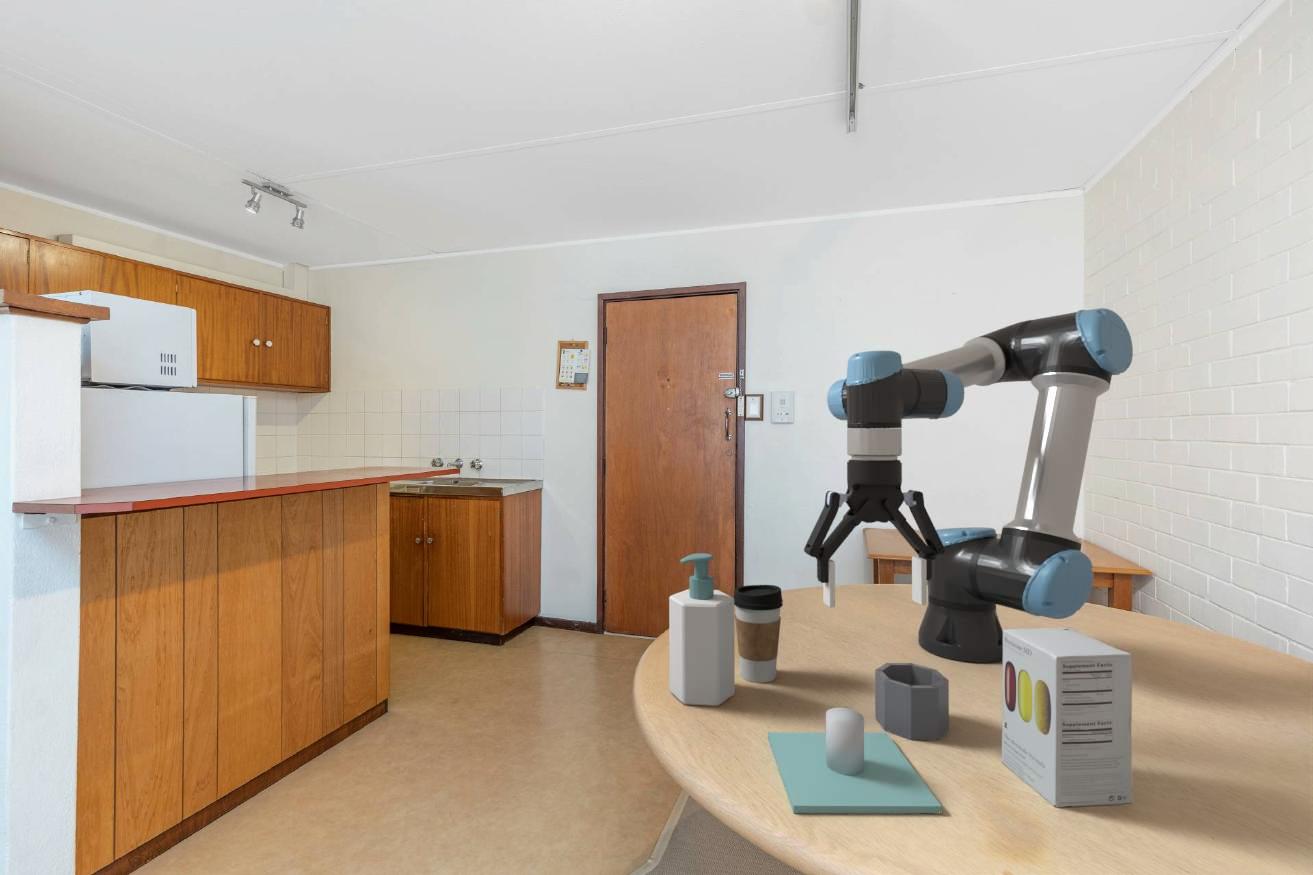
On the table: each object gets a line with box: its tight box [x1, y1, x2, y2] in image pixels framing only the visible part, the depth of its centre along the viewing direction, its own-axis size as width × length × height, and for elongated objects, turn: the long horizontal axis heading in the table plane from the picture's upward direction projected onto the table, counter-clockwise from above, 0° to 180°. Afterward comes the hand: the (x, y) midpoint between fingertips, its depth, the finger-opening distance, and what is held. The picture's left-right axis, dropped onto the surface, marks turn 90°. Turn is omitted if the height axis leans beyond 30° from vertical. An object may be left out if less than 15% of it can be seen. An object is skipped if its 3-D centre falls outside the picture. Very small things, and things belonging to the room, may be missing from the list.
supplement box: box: [1001, 627, 1133, 808], centre depth 70 cm, size 10×9×17 cm
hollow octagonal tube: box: [874, 662, 950, 741], centre depth 84 cm, size 9×9×7 cm
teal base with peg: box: [767, 707, 943, 815], centre depth 72 cm, size 16×16×7 cm
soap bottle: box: [668, 552, 736, 707], centre depth 95 cm, size 10×9×22 cm
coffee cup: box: [732, 584, 784, 684], centre depth 101 cm, size 8×8×15 cm
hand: (874, 603), depth 87 cm, fingers open, 13 cm apart
